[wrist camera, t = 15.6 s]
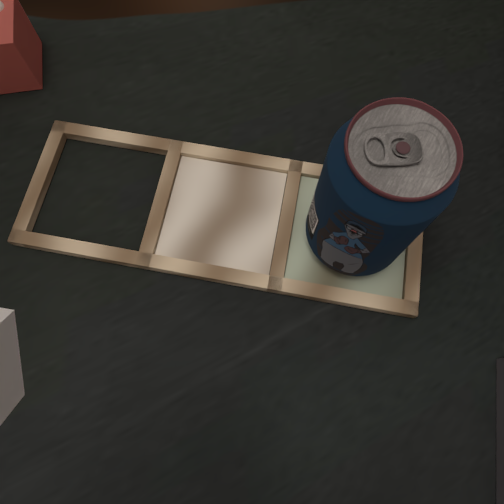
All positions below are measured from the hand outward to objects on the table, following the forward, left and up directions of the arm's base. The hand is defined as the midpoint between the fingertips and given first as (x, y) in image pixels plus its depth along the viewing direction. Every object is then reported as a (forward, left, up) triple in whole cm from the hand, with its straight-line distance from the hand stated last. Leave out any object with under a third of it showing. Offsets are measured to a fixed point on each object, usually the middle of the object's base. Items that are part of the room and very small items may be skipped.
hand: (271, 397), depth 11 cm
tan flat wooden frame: (-5, +13, -19) cm, 24 cm away
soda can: (+5, +13, -19) cm, 23 cm away
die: (-25, +23, -19) cm, 39 cm away
